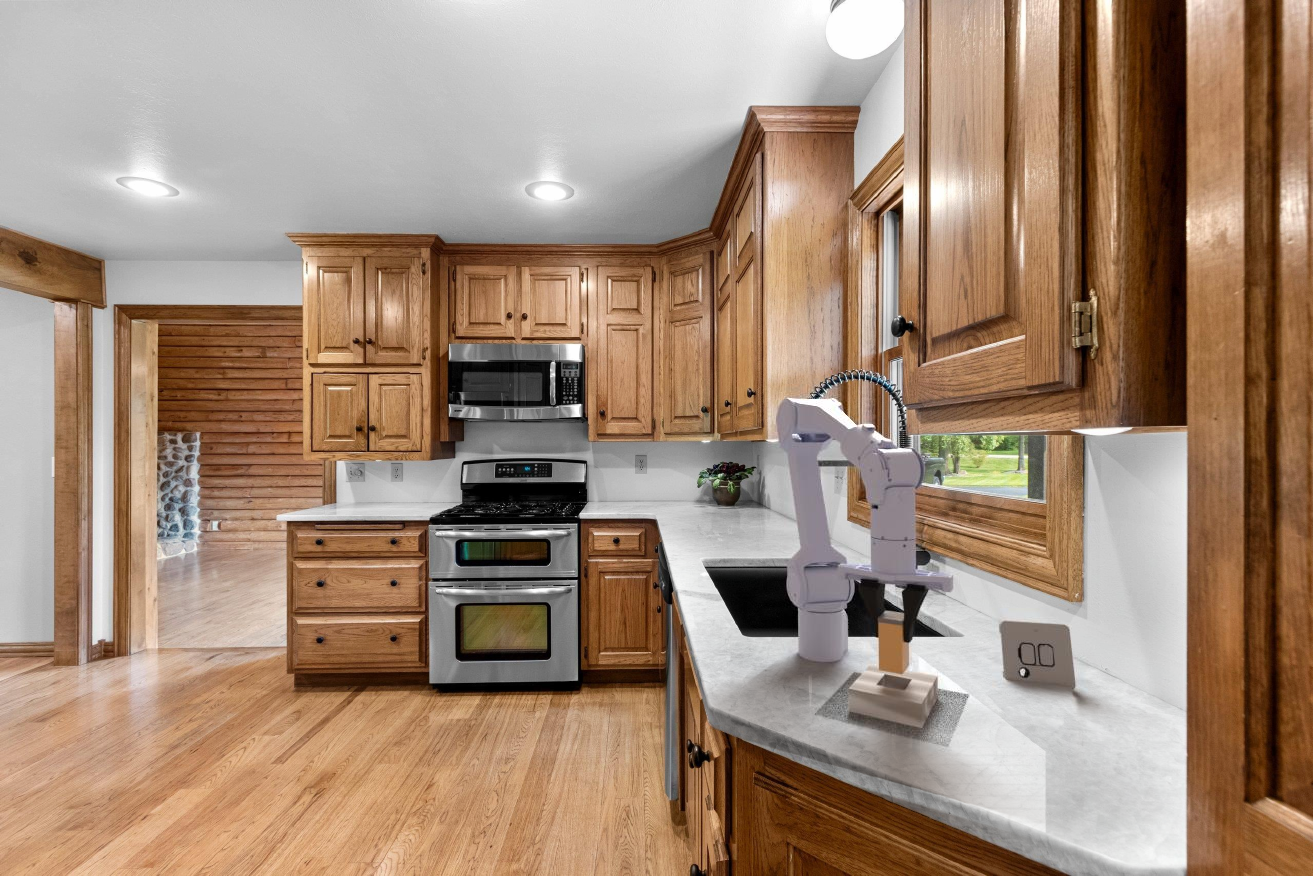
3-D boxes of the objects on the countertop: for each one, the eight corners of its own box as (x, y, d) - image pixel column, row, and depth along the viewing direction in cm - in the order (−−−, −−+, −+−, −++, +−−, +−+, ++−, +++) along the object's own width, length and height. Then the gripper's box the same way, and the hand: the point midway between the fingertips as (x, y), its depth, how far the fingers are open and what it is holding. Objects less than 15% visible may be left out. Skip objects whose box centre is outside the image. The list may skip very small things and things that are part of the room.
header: (854, 678, 96) (854, 652, 96) (969, 701, 88) (969, 673, 88) (813, 722, 81) (813, 691, 81) (948, 756, 73) (947, 721, 73)
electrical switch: (1004, 686, 93) (1002, 622, 94) (996, 677, 98) (994, 616, 99) (1077, 693, 90) (1074, 627, 91) (1064, 683, 95) (1062, 621, 96)
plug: (886, 661, 87) (885, 610, 87) (909, 665, 85) (909, 613, 85) (878, 670, 84) (877, 617, 84) (902, 674, 82) (902, 621, 82)
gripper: (830, 537, 85) (831, 637, 85) (946, 546, 77) (947, 656, 77) (846, 530, 91) (846, 624, 91) (955, 538, 83) (956, 641, 83)
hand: (893, 638), depth 85 cm, fingers closed on plug, 3 cm apart
